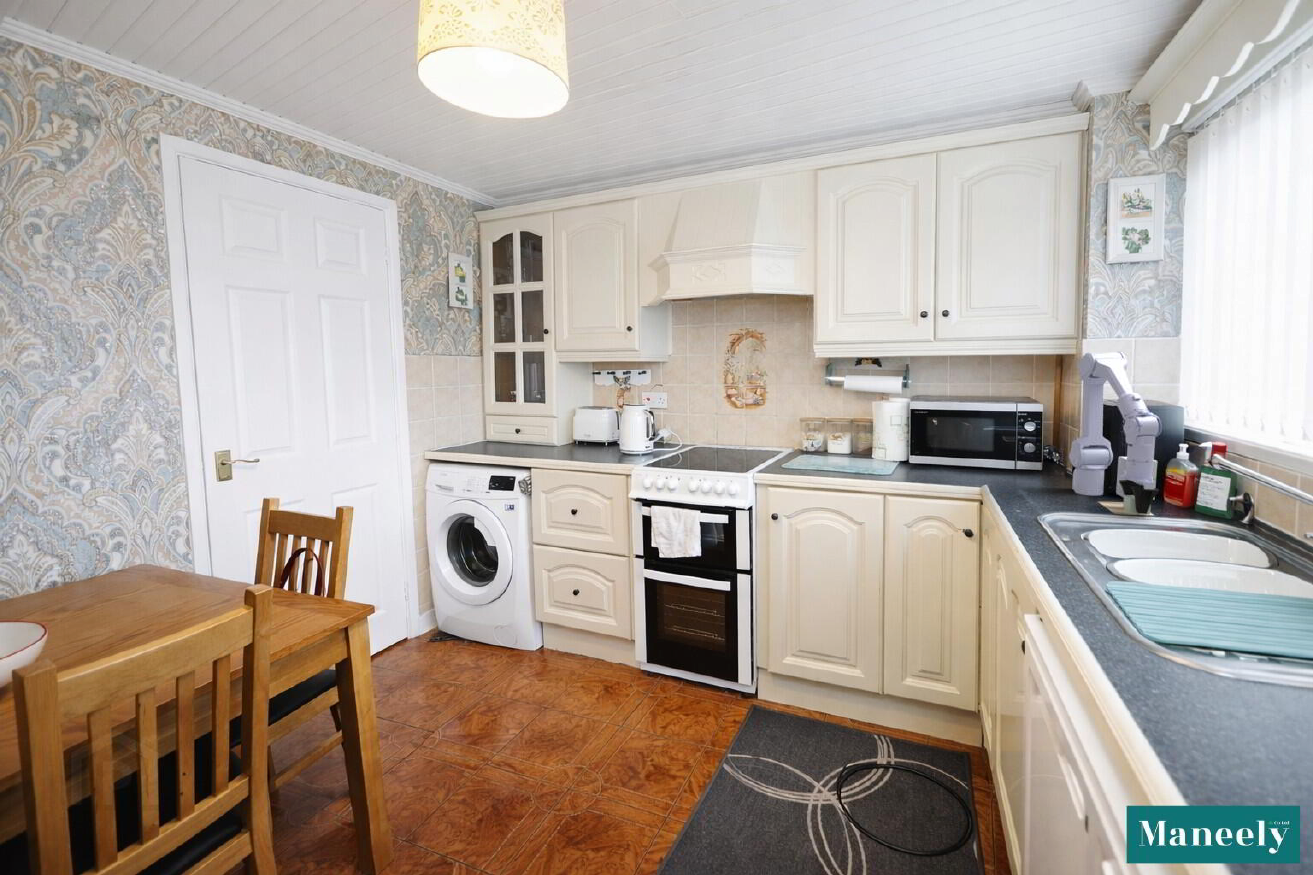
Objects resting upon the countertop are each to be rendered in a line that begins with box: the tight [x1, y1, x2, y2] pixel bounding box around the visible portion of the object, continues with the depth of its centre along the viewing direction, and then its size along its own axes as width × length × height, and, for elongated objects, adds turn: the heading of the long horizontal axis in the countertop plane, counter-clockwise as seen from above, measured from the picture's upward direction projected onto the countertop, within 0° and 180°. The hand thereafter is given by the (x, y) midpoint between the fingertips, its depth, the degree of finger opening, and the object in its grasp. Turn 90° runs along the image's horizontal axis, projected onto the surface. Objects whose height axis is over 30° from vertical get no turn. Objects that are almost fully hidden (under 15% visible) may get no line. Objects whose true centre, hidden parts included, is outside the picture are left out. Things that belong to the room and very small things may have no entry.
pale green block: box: [1123, 495, 1152, 514], centre depth 172 cm, size 5×5×4 cm
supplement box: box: [1115, 456, 1158, 501], centre depth 188 cm, size 7×7×13 cm
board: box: [1097, 501, 1156, 517], centre depth 176 cm, size 14×9×1 cm, turn 162°
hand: (1136, 509), depth 172 cm, fingers open, 7 cm apart
